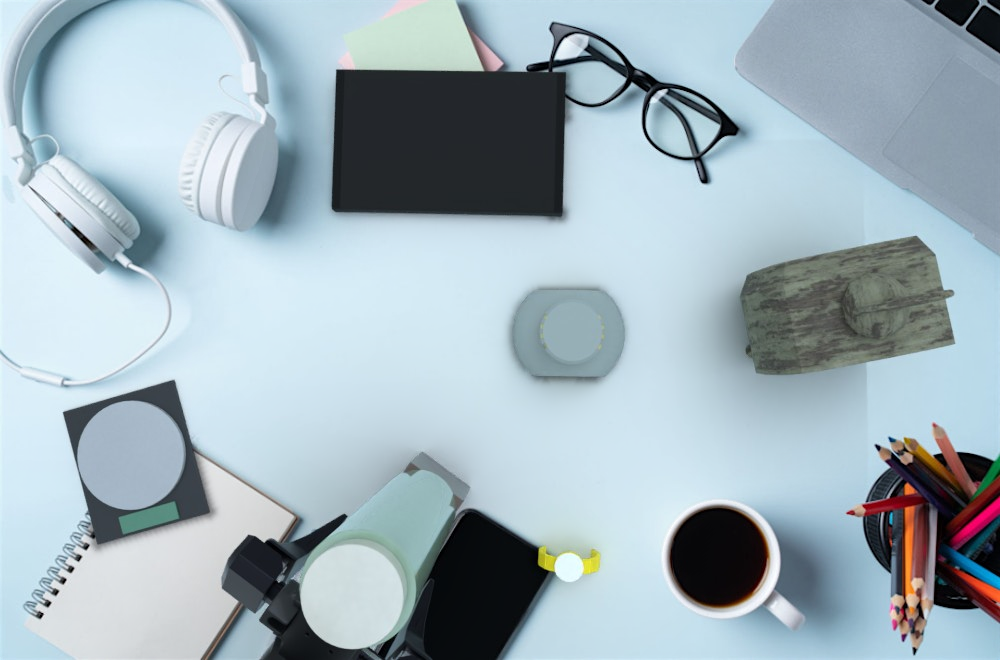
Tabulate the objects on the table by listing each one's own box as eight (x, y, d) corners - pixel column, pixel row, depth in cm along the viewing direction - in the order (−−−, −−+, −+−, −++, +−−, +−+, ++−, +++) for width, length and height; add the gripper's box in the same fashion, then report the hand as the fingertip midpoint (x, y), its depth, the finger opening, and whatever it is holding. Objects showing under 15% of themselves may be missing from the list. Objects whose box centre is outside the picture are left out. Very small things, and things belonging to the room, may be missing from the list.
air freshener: (621, 294, 80) (634, 285, 70) (620, 375, 79) (633, 378, 69) (514, 293, 80) (512, 284, 70) (513, 374, 80) (510, 376, 70)
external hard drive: (343, 78, 82) (336, 68, 79) (565, 81, 81) (566, 71, 78) (338, 214, 81) (331, 208, 78) (562, 218, 80) (563, 213, 77)
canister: (456, 547, 71) (412, 659, 45) (379, 546, 71) (290, 657, 45) (456, 469, 71) (412, 536, 45) (379, 469, 71) (291, 534, 45)
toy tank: (733, 372, 79) (826, 379, 54) (715, 284, 79) (799, 251, 54) (876, 344, 78) (1036, 338, 54) (857, 256, 79) (1007, 210, 54)
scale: (215, 509, 81) (206, 514, 78) (105, 541, 81) (93, 546, 79) (180, 379, 81) (170, 379, 79) (71, 410, 82) (58, 412, 79)
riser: (436, 532, 80) (424, 554, 71) (389, 497, 80) (371, 515, 71) (471, 484, 80) (463, 501, 71) (424, 449, 80) (410, 461, 71)
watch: (598, 539, 79) (603, 555, 73) (596, 567, 79) (602, 584, 73) (539, 535, 79) (539, 550, 73) (537, 563, 79) (537, 580, 73)
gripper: (407, 771, 50) (513, 579, 61) (176, 593, 51) (322, 437, 62) (361, 800, 58) (463, 626, 69) (162, 646, 58) (294, 499, 69)
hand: (388, 548), depth 67 cm, fingers open, 9 cm apart
